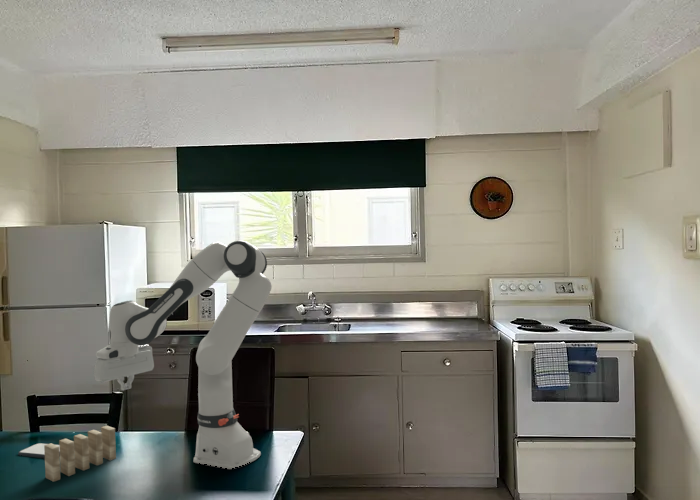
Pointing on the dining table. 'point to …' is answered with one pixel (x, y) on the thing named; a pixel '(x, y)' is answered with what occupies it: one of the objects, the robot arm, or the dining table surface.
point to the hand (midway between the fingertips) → (126, 389)
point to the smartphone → (35, 451)
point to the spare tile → (52, 462)
